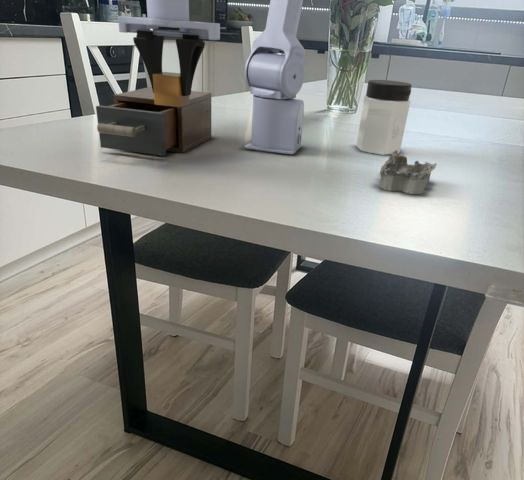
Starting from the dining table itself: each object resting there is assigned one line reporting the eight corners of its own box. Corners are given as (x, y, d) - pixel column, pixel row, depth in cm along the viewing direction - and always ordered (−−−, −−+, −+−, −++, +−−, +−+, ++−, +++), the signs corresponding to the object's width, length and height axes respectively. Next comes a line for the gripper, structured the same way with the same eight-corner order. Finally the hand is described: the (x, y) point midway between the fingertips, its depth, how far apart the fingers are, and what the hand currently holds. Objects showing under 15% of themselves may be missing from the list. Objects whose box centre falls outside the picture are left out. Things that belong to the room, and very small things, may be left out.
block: (189, 103, 74) (188, 74, 72) (179, 107, 71) (178, 76, 69) (165, 101, 75) (164, 71, 73) (154, 104, 72) (152, 73, 69)
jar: (375, 156, 92) (389, 85, 85) (347, 147, 98) (357, 79, 91) (407, 152, 96) (422, 85, 90) (379, 144, 102) (391, 79, 95)
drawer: (150, 162, 75) (147, 118, 72) (85, 153, 78) (79, 110, 74) (193, 140, 90) (193, 103, 86) (138, 133, 92) (135, 96, 89)
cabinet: (183, 153, 85) (181, 102, 81) (118, 144, 87) (113, 94, 83) (211, 138, 97) (211, 92, 92) (154, 130, 99) (151, 86, 95)
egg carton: (389, 174, 82) (394, 148, 80) (433, 182, 79) (440, 156, 77) (372, 188, 74) (377, 160, 72) (421, 198, 71) (428, 169, 69)
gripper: (102, -26, 63) (114, 91, 70) (207, -20, 60) (208, 101, 68) (128, -22, 68) (136, 86, 76) (225, -16, 66) (224, 96, 73)
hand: (171, 93), depth 72 cm, fingers closed on block, 4 cm apart
